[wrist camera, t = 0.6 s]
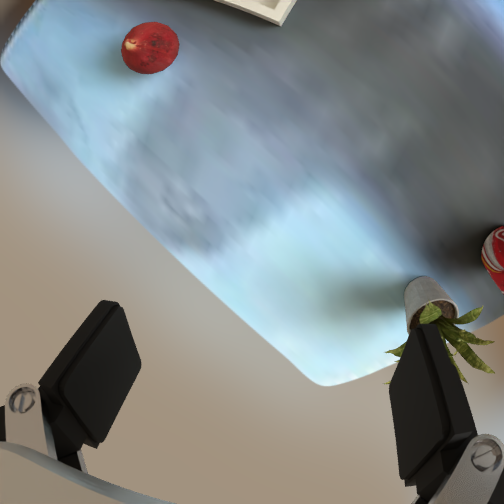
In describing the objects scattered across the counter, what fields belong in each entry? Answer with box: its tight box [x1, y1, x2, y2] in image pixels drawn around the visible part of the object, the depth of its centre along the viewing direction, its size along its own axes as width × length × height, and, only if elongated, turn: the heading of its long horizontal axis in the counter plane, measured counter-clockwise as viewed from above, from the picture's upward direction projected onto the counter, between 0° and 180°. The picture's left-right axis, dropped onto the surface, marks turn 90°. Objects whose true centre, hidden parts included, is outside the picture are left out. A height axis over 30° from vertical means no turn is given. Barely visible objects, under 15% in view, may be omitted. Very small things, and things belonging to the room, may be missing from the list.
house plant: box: [385, 276, 495, 384], centre depth 32 cm, size 14×14×16 cm
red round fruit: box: [121, 22, 179, 74], centre depth 26 cm, size 6×6×8 cm
